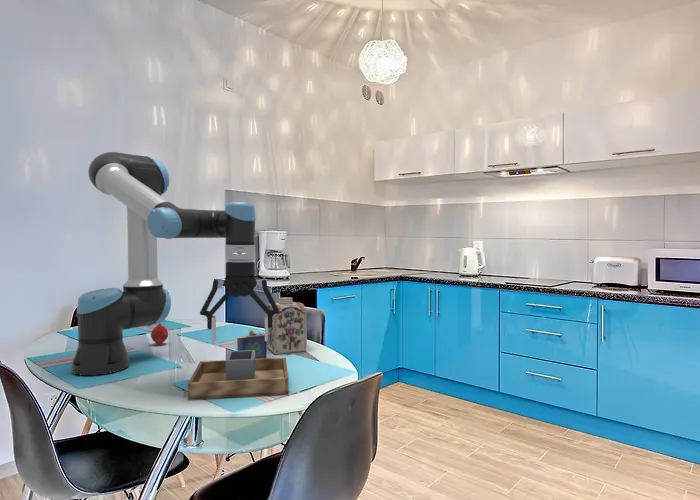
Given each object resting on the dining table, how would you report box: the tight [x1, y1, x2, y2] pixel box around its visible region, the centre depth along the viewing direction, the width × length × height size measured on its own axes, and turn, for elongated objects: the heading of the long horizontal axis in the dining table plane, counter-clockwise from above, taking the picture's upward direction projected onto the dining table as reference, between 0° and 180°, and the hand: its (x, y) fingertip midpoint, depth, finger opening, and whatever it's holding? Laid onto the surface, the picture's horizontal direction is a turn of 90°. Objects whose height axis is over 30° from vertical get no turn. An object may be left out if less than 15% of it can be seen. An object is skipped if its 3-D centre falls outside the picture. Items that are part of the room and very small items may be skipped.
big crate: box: [187, 357, 289, 401], centre depth 124 cm, size 24×20×4 cm
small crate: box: [225, 350, 255, 381], centre depth 124 cm, size 7×10×7 cm
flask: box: [236, 328, 268, 359], centre depth 143 cm, size 9×3×11 cm, turn 121°
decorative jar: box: [265, 296, 308, 355], centre depth 161 cm, size 12×12×18 cm
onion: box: [150, 322, 169, 346], centre depth 169 cm, size 6×6×8 cm
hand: (240, 340), depth 124 cm, fingers open, 13 cm apart
